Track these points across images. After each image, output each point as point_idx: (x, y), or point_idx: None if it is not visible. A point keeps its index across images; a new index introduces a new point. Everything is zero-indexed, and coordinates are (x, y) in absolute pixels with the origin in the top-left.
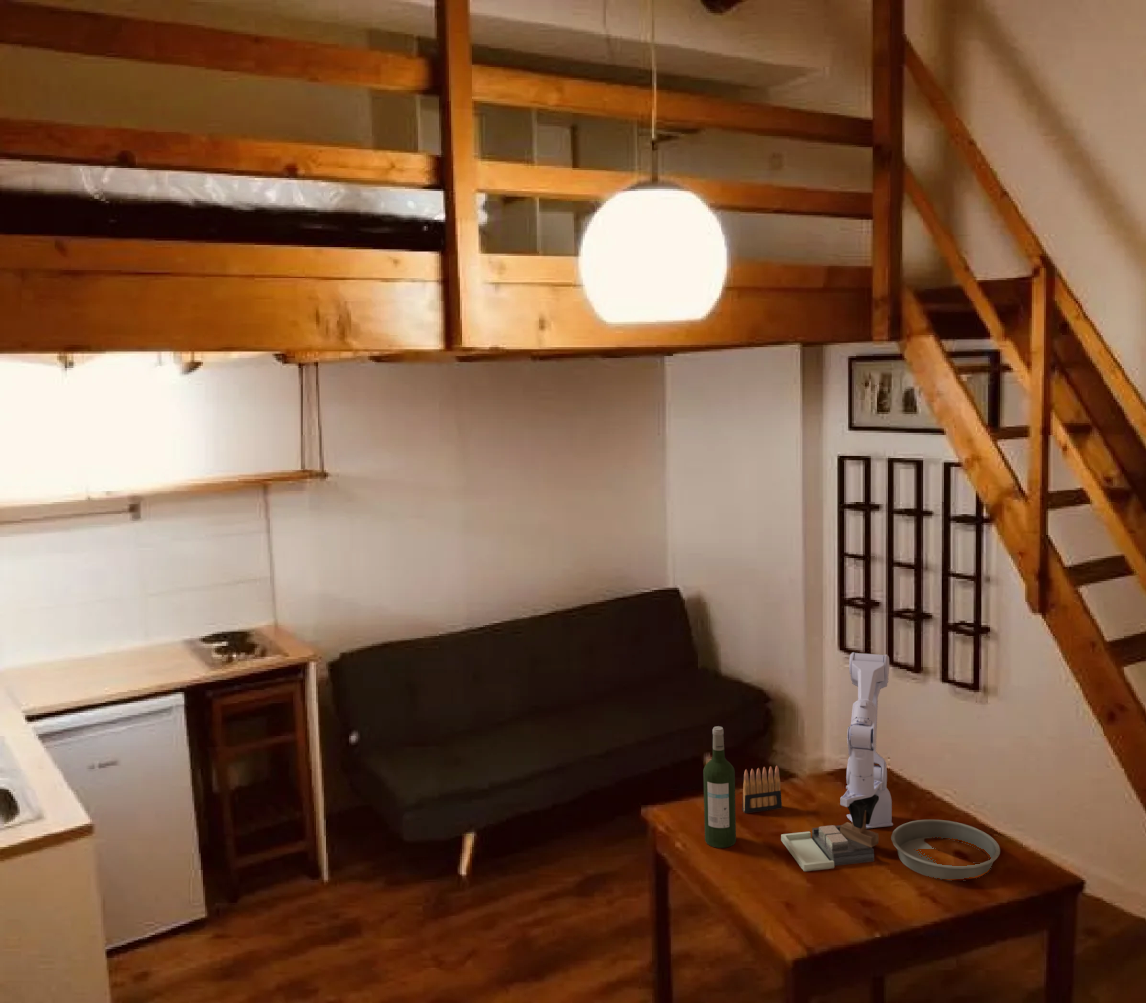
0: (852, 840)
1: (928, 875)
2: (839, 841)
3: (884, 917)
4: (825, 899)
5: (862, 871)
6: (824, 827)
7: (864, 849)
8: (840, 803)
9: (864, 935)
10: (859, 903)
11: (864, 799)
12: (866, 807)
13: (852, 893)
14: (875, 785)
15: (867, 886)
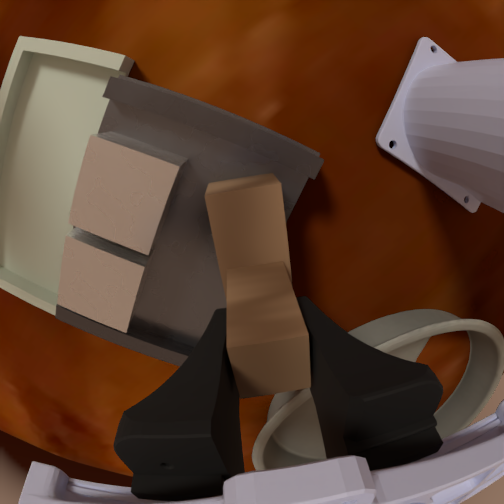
0: None
1: (272, 439)
2: (90, 315)
3: (84, 451)
4: (3, 372)
5: (137, 361)
6: (111, 159)
7: (179, 362)
8: (30, 470)
9: (36, 446)
10: (59, 416)
11: (337, 440)
12: (321, 402)
13: (60, 395)
14: (460, 500)
15: (106, 401)
